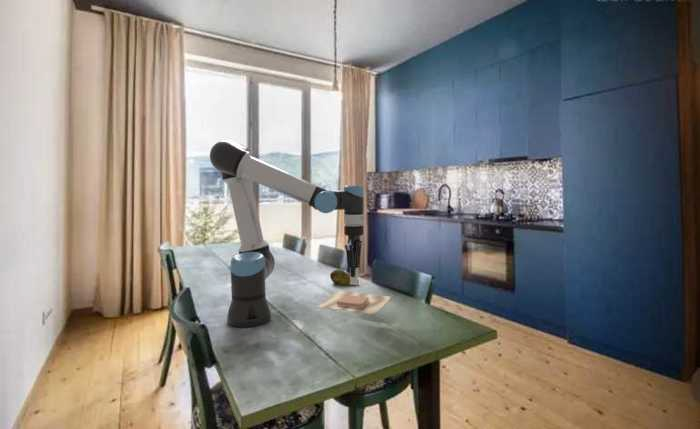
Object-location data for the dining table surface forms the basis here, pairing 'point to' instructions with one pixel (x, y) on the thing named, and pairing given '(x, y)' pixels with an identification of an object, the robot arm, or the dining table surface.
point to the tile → (353, 301)
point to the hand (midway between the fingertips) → (353, 284)
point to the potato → (340, 278)
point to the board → (370, 308)
